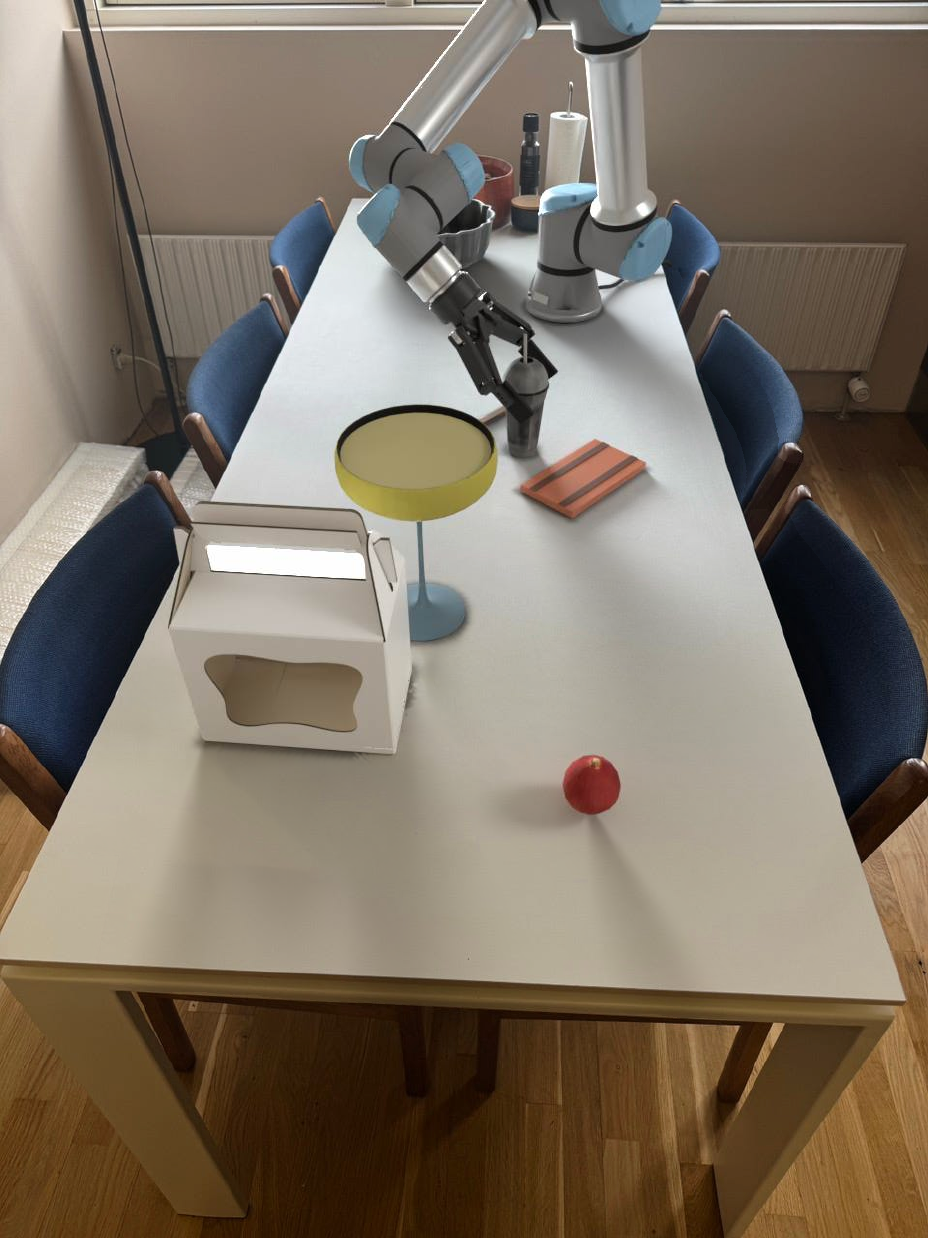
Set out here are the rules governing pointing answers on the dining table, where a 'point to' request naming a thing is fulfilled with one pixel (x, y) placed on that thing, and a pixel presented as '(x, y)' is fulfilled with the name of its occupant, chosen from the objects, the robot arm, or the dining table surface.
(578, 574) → the dining table surface
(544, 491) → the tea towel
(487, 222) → the bundt pan
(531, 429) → the beverage cup
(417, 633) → the cocktail glass
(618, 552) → the dining table surface
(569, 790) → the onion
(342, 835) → the dining table surface
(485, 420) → the spatula
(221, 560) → the gable box
